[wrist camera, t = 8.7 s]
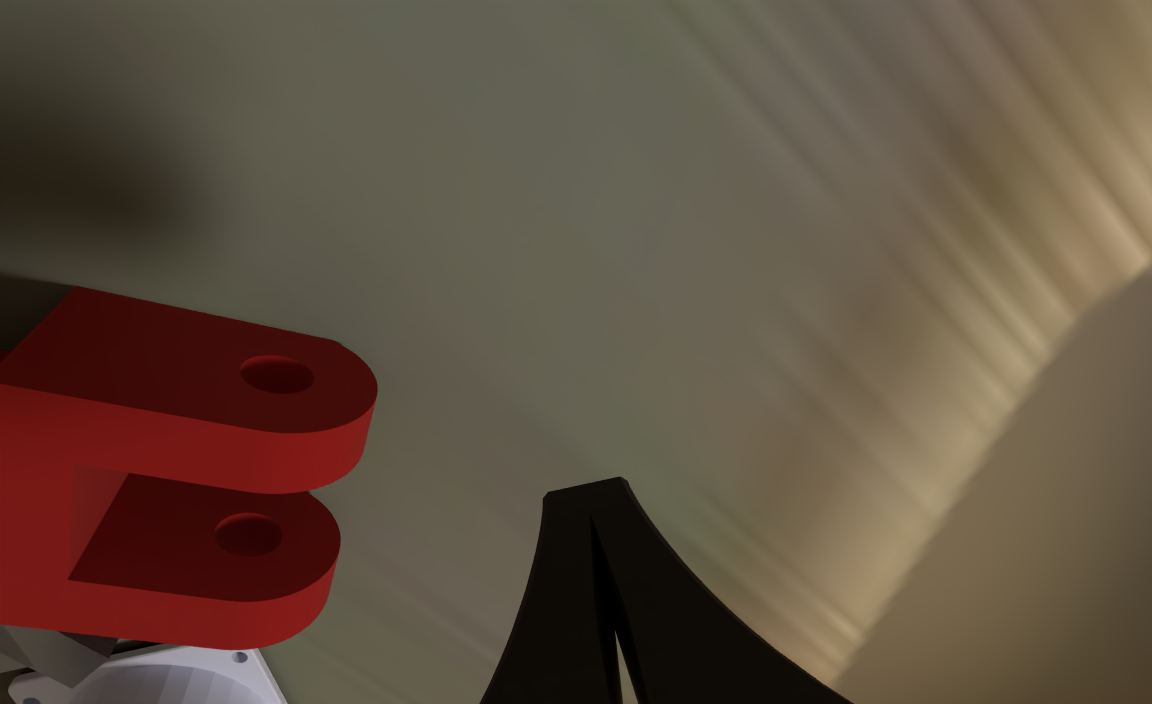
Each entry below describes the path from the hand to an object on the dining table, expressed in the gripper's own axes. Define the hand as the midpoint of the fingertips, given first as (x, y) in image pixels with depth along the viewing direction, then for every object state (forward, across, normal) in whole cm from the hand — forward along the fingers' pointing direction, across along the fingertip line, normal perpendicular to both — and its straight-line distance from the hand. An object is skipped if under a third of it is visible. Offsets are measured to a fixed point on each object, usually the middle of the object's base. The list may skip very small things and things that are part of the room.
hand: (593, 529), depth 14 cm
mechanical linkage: (+11, +14, +1) cm, 17 cm away
